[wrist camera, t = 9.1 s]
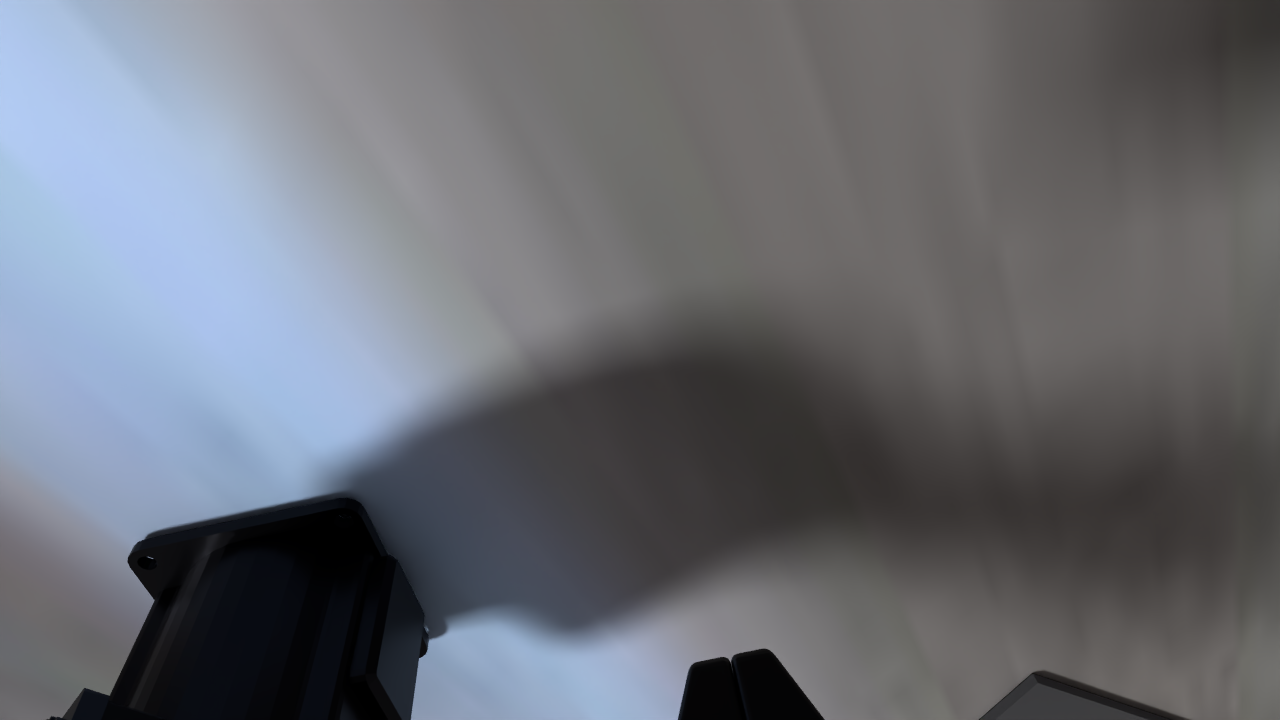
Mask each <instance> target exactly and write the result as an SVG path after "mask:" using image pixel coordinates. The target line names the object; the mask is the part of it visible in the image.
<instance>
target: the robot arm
mask: <svg viewBox="0 0 1280 720" xmlns="http://www.w3.org/2000/svg"><path fill="white" fill-rule="evenodd" d="M339 515H348V516H350V517H351V518H343V517H340V516H339ZM147 556H148V557H151V558H154V559H151V558H148V557H147ZM128 564H129V566H130V568H131V569H132V571H133V572H134V573H135V575H136V576H137V577H138V579H139V580H140V581H141V583H142V584H143V585H144V587H145V588H146V589H147V591H148V592H149V593H150V595H151V596H152V597H153V599H154V600H155V601H154V603H153V605H152V607H151V609H150V612H149V614H148V616H147V618H146V620H145V622H144V624H143V626H142V628H141V631H140V633H139V635H138V637H137V639H136V641H135V643H134V645H133V648H132V650H131V652H130V654H129V656H128V658H127V660H126V662H125V664H124V667H123V669H122V671H121V673H120V675H119V677H118V679H117V681H116V683H115V686H114V688H113V690H112V692H111V694H110V696H108V695H105V694H102V693H99V692H96V691H93V690H90V689H86V688H84V689H83V690H82V692H81V693H80V694H79V696H78V697H77V699H76V700H75V701H74V703H73V704H72V705H71V707H70V708H69V709H68V711H67V712H66V714H65V715H64V716H63V718H60V717H57V718H56V717H53V716H51V717H50V719H48V720H411V713H412V706H413V698H414V691H415V683H416V676H417V669H418V661H419V658H421V657H423V656H424V655H425V654H426V652H427V650H428V642H429V637H428V634H427V632H426V630H425V628H424V626H423V624H424V612H423V610H422V608H421V606H420V604H419V602H418V600H417V598H416V596H415V594H414V592H413V590H412V588H411V586H410V584H409V582H408V580H407V578H406V576H405V574H404V572H403V570H402V568H401V566H400V564H399V562H398V560H396V559H395V558H394V557H392V556H391V555H388V554H387V552H386V550H385V548H384V546H383V544H382V542H381V540H380V538H379V536H378V534H377V532H376V530H375V528H374V526H373V524H372V522H371V520H370V518H369V516H368V514H367V512H366V510H365V508H364V507H363V506H362V504H361V503H360V502H358V501H356V500H354V499H350V498H339V499H334V500H329V501H324V502H320V503H315V504H310V505H306V506H301V507H296V508H291V509H287V510H282V511H277V512H273V513H268V514H263V515H258V516H254V517H249V518H244V519H240V520H235V521H230V522H225V523H221V524H216V525H211V526H207V527H202V528H197V529H192V530H188V531H183V532H178V533H174V534H169V535H164V536H159V537H155V538H150V539H145V540H142V541H140V542H137V544H136V545H135V546H134V547H133V549H132V551H131V553H130V555H129V557H128ZM731 664H732V666H731ZM678 720H824V718H823V717H822V716H821V714H820V713H819V712H818V710H817V709H816V708H815V707H814V705H813V704H812V703H811V701H810V700H809V699H808V697H807V696H806V695H805V694H804V692H803V691H802V690H801V688H800V687H799V686H798V684H797V683H796V682H795V681H794V679H793V678H792V677H791V675H790V674H789V673H788V671H787V670H786V669H785V668H784V666H783V665H782V664H781V662H780V661H779V660H778V658H777V657H776V656H775V655H774V654H773V653H772V652H771V651H770V650H768V649H758V650H754V651H749V652H744V653H739V654H736V655H734V656H733V657H732V660H731V663H730V661H729V659H728V658H725V657H719V658H715V659H710V660H705V661H700V662H696V663H694V664H692V665H691V667H690V669H689V671H688V675H687V680H686V684H685V689H684V694H683V698H682V703H681V707H680V712H679V717H678Z"/></svg>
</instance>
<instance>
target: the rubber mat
mask: <svg viewBox="0 0 1280 720" xmlns="http://www.w3.org/2000/svg"><path fill="white" fill-rule="evenodd" d="M980 720H1169V719H1166V718H1163V717H1160V716H1157V715H1155V714H1152V713H1149V712H1146V711H1143V710H1140V709H1137V708H1134V707H1131V706H1128V705H1125V704H1122V703H1119V702H1116V701H1113V700H1110V699H1107V698H1104V697H1101V696H1098V695H1095V694H1092V693H1089V692H1086V691H1083V690H1080V689H1077V688H1074V687H1071V686H1068V685H1065V684H1062V683H1059V682H1056V681H1053V680H1050V679H1047V678H1044V677H1041V676H1038V675H1035V674H1031V675H1030V676H1029V677H1028V678H1027V679H1026V680H1025V681H1023V682H1022V683H1021V684H1020V685H1019V686H1018V687H1017V688H1015V689H1014V690H1013V691H1012V692H1011V693H1010V694H1009V695H1007V696H1006V697H1005V698H1004V699H1003V700H1002V701H1001V702H999V703H998V704H997V705H996V706H995V707H994V708H993V709H991V710H990V711H989V712H988V713H987V714H986V715H985V716H983V717H982V718H981V719H980Z"/></svg>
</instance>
